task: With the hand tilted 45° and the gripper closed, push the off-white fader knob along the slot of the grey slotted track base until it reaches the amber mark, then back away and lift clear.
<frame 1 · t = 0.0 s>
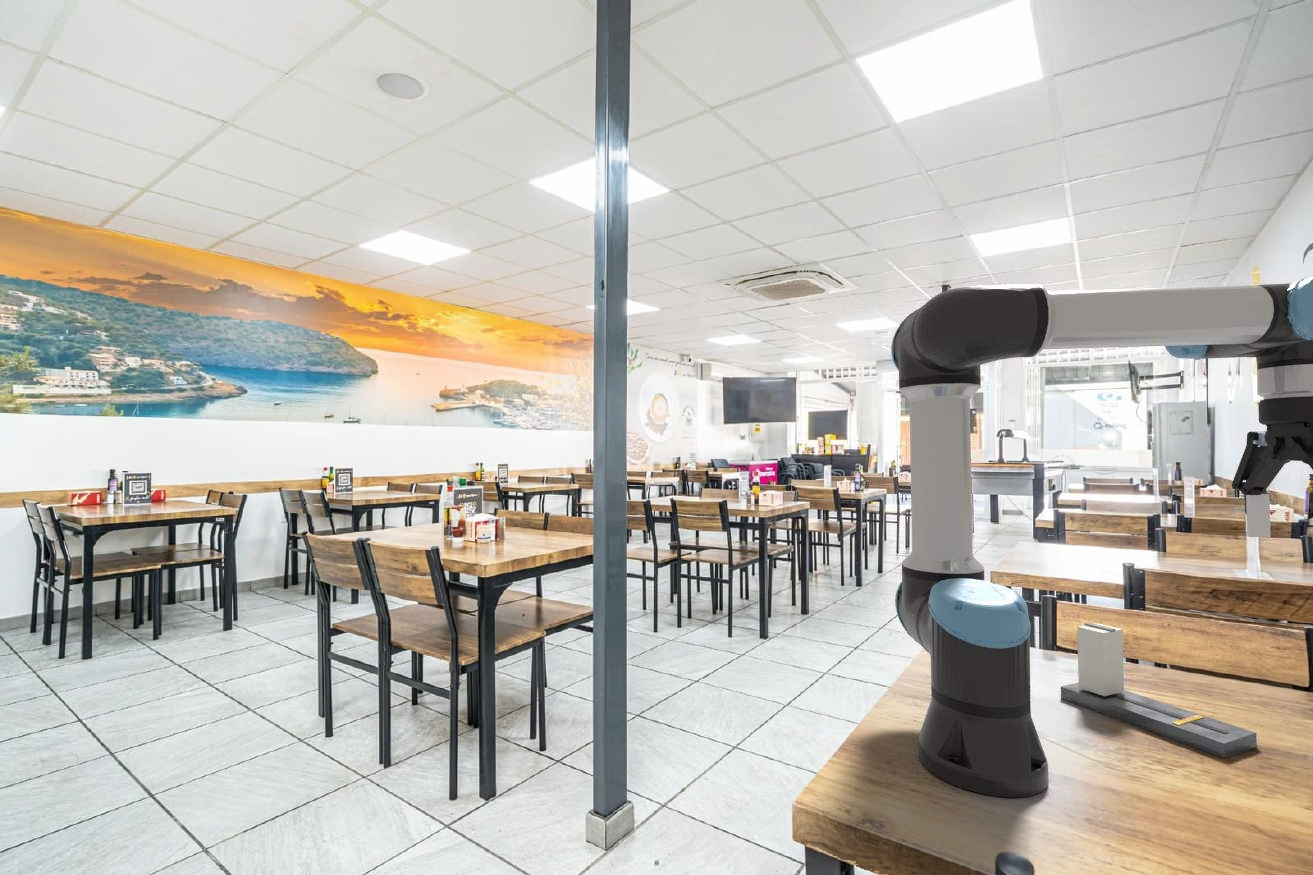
hand: (1298, 543, 89), 28 cm above the table, tool pointing down, fingers open, 13 cm apart
grey slotted track base: (1149, 720, 94), on the table
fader: (1100, 657, 101), point 7 cm above the table, slide at 0.0 cm
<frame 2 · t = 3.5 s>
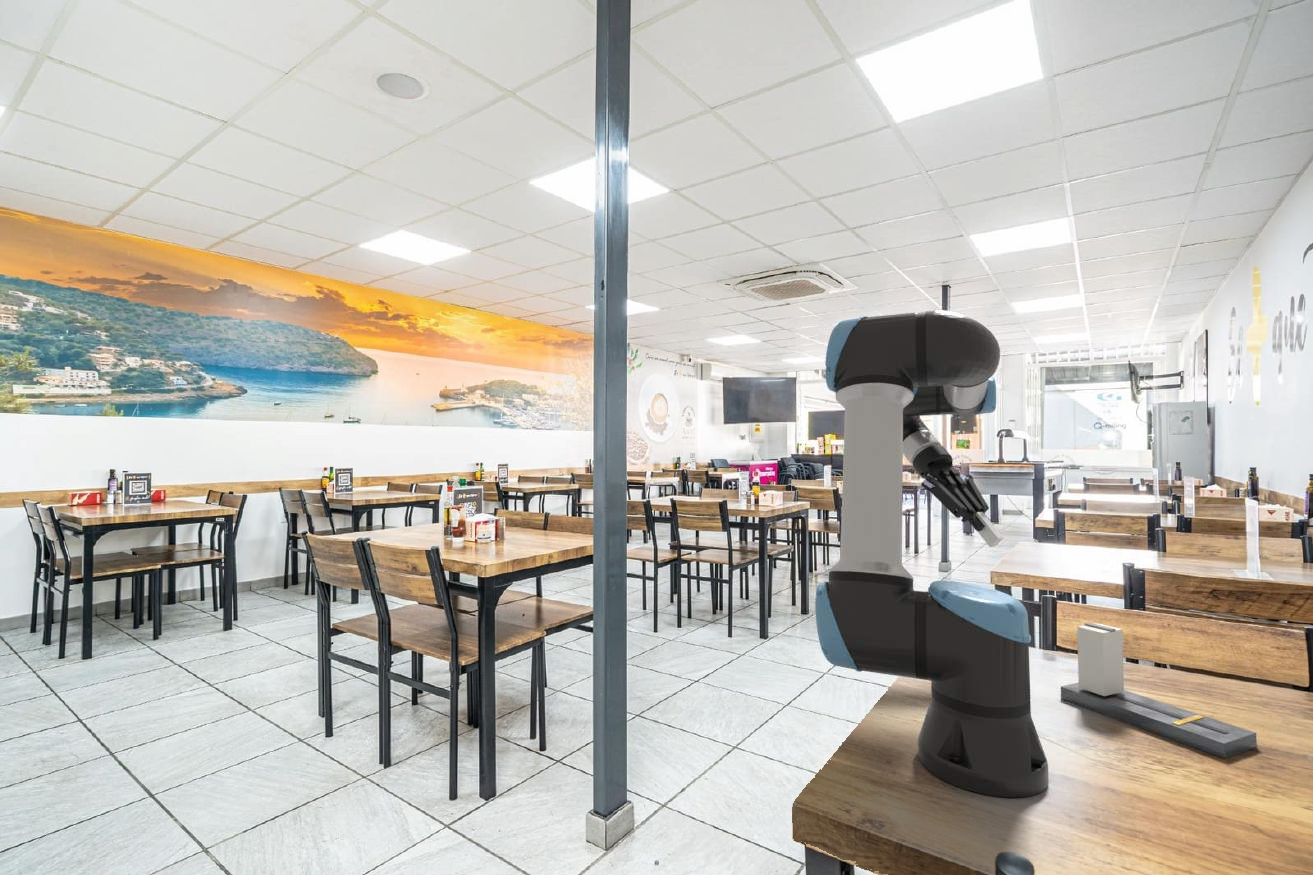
hand: (996, 542, 118), 24 cm above the table, tool tilted 45°, fingers closed
nothing on the table moved.
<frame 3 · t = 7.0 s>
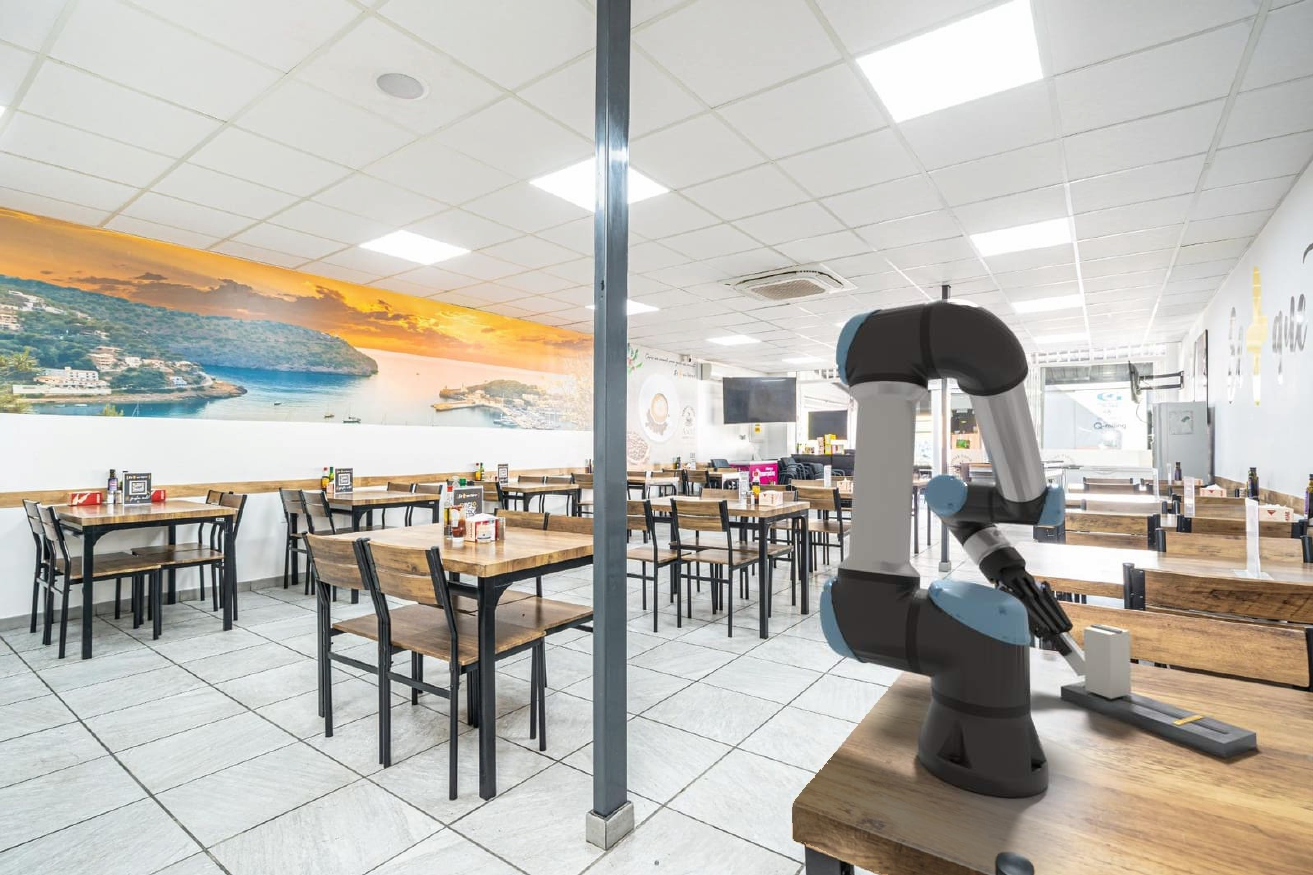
hand: (1087, 671, 102), 4 cm above the table, tool tilted 45°, fingers closed
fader: (1107, 659, 100), point 7 cm above the table, slide at 1.0 cm, touching gripper
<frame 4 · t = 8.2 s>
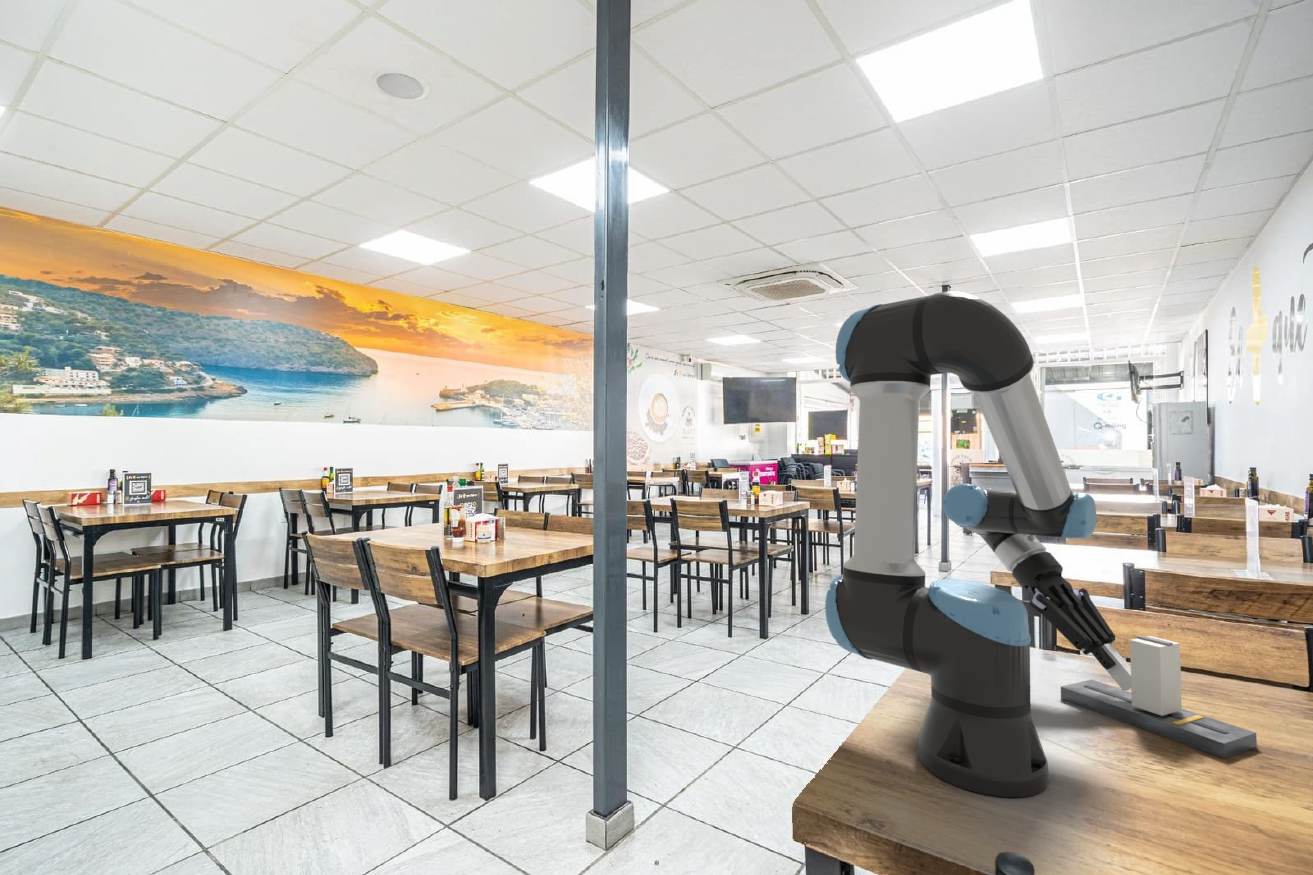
hand: (1132, 686, 96), 4 cm above the table, tool tilted 45°, fingers closed
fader: (1155, 673, 93), point 7 cm above the table, slide at 8.0 cm, touching gripper
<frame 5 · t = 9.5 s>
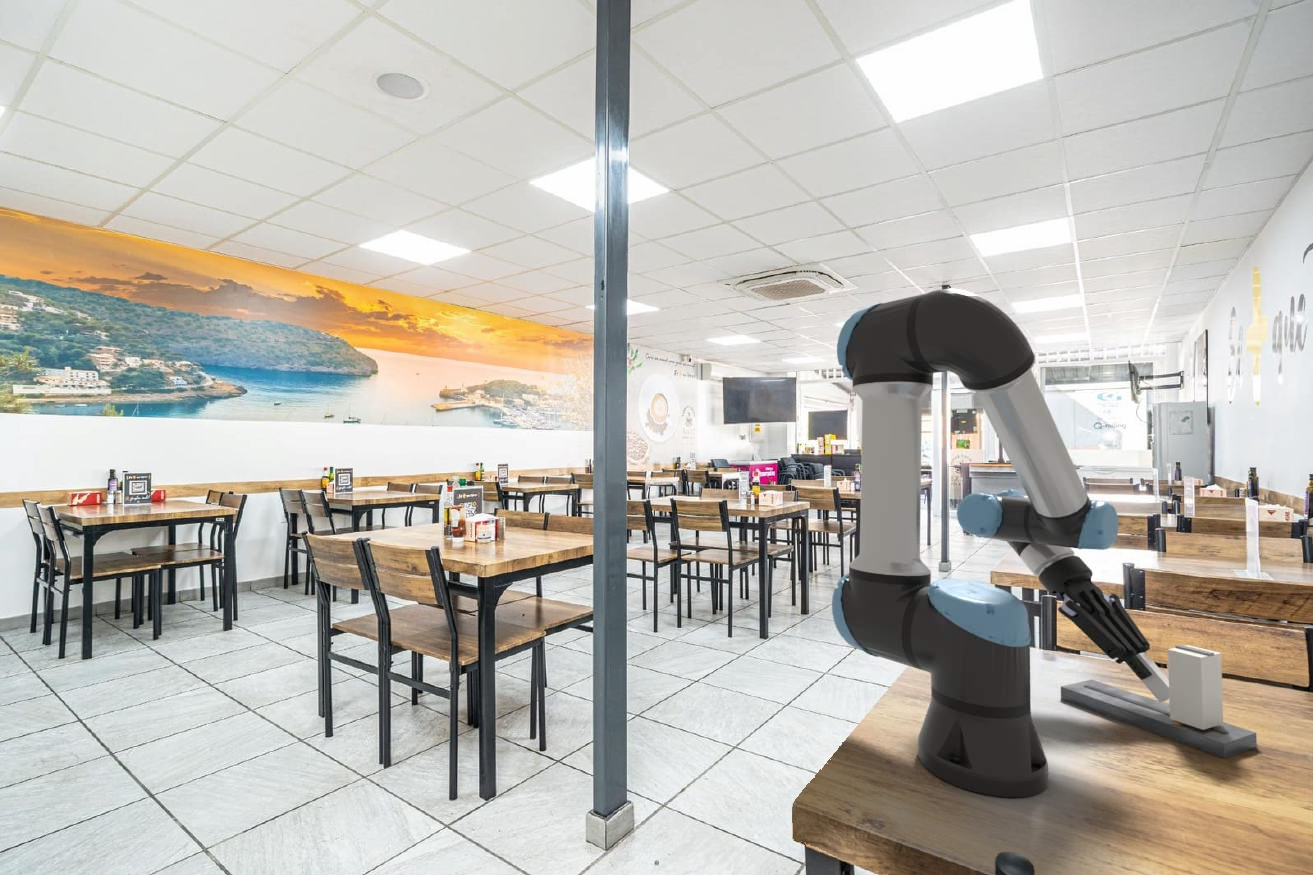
hand: (1169, 697, 92), 5 cm above the table, tool tilted 45°, fingers closed
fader: (1195, 685, 89), point 7 cm above the table, slide at 13.0 cm, touching gripper
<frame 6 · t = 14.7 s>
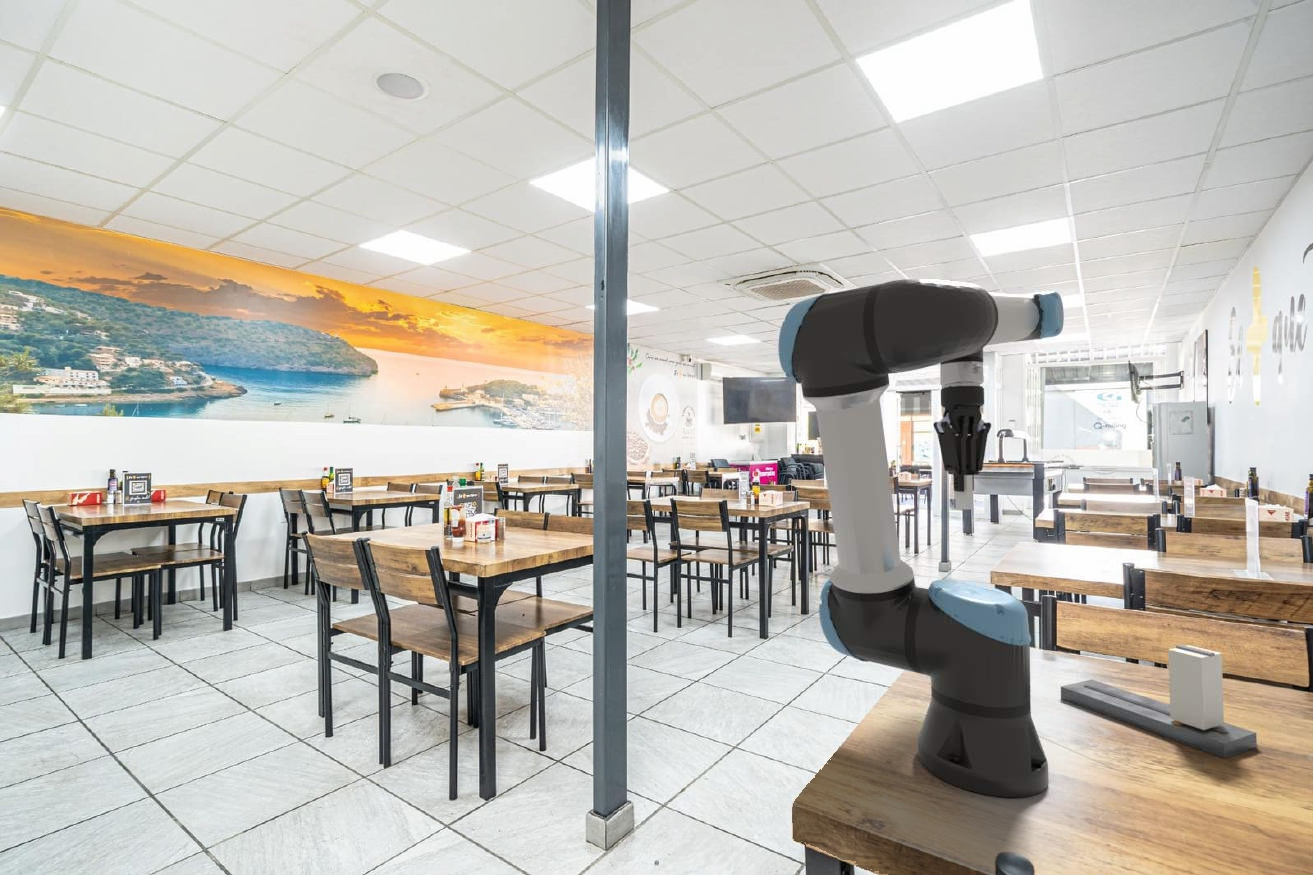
hand: (964, 508, 118), 30 cm above the table, tool pointing down, fingers closed
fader: (1195, 685, 89), point 7 cm above the table, slide at 13.0 cm
at the end: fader slide at 13.0 cm; the gripper is holding nothing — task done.
